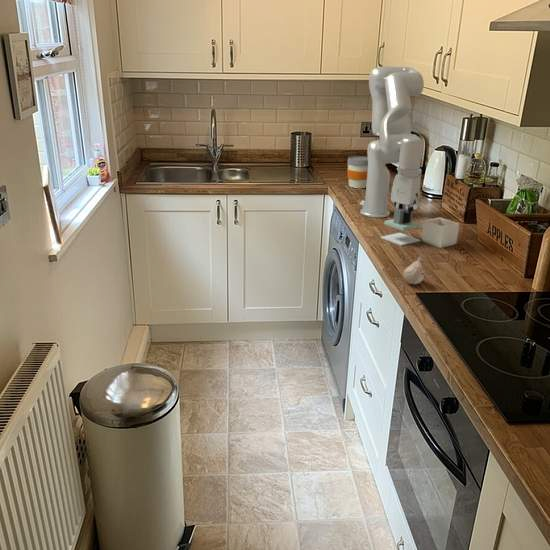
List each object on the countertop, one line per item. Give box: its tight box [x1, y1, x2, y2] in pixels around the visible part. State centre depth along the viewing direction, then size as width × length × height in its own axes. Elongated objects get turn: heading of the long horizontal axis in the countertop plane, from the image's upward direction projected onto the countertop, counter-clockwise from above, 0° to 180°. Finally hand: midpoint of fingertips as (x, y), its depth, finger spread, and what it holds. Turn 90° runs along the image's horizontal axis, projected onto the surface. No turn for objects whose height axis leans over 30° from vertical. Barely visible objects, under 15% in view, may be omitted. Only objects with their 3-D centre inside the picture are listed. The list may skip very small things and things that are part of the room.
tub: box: [420, 217, 460, 249], centre depth 207 cm, size 9×9×8 cm
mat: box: [380, 232, 421, 246], centre depth 211 cm, size 10×10×1 cm
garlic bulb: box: [402, 255, 425, 285], centre depth 170 cm, size 7×6×8 cm
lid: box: [383, 207, 422, 233], centre depth 207 cm, size 9×9×7 cm
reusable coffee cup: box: [346, 155, 368, 188], centre depth 286 cm, size 13×13×15 cm
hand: (402, 221), depth 208 cm, fingers closed on lid, 2 cm apart
